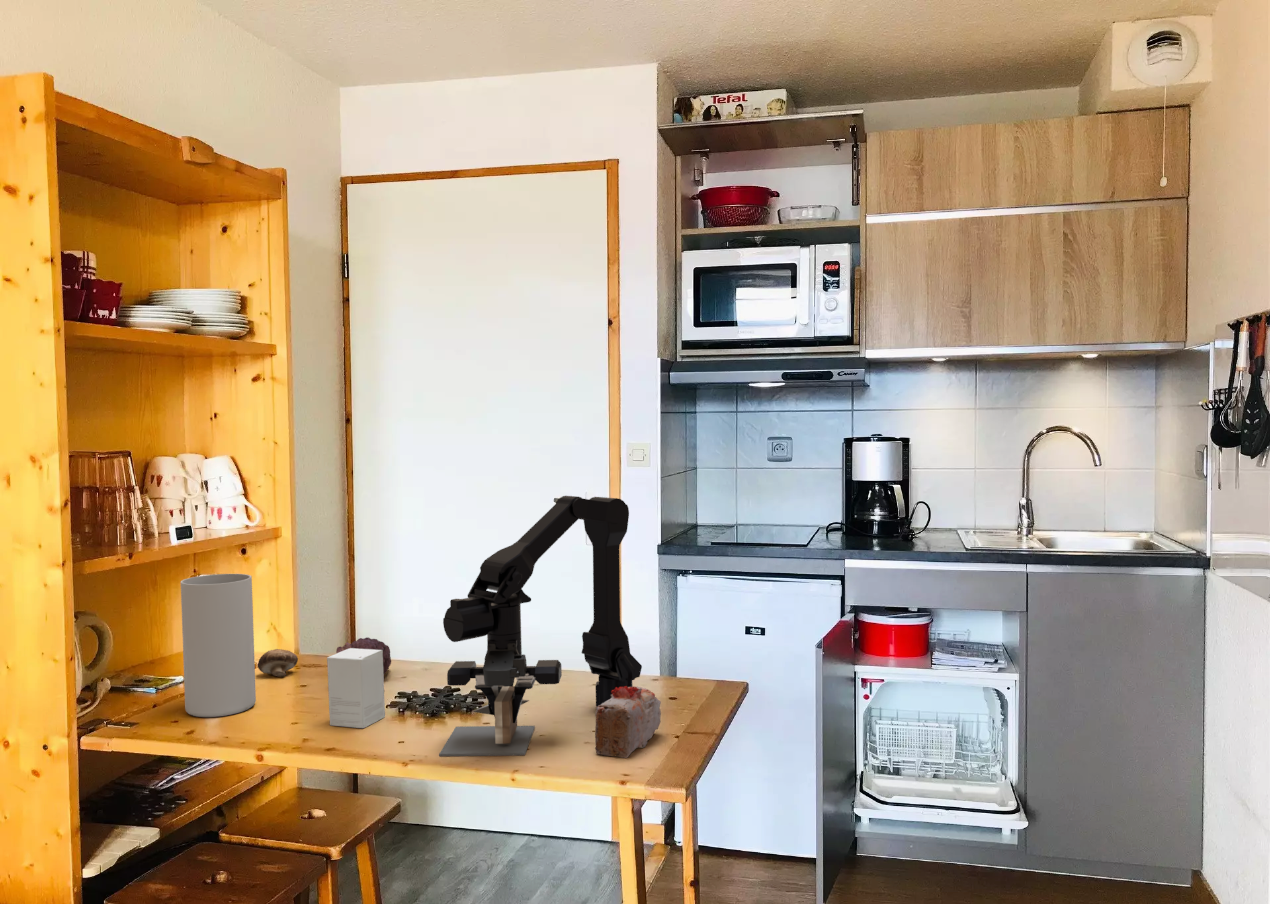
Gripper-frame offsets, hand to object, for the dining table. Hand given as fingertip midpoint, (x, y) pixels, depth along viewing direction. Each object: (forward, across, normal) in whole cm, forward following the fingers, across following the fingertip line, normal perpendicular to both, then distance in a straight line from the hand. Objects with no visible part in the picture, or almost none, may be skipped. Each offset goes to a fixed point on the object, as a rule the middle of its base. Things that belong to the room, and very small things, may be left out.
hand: (506, 722), depth 168 cm
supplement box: (+3, -29, +12) cm, 32 cm away
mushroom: (+4, -56, +45) cm, 72 cm away
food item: (+4, +21, -2) cm, 21 cm away
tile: (+2, 0, 0) cm, 2 cm away
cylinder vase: (+3, -58, +21) cm, 62 cm away
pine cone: (+4, -35, +40) cm, 53 cm away
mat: (+3, -3, 0) cm, 4 cm away
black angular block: (+4, -4, +20) cm, 21 cm away
